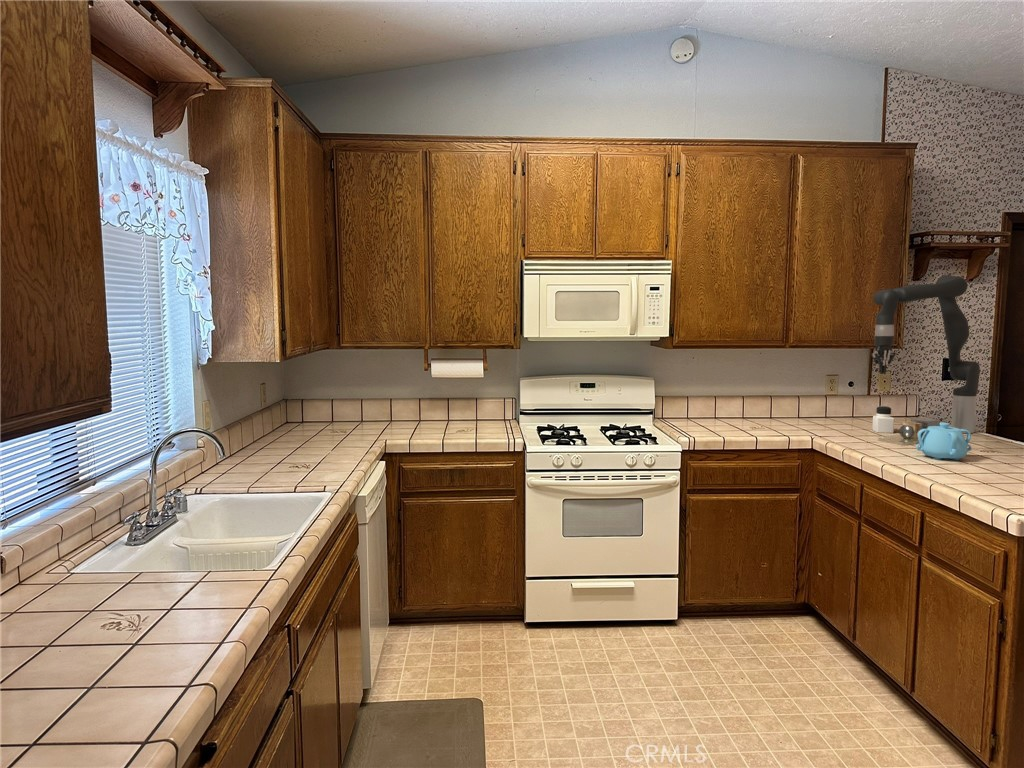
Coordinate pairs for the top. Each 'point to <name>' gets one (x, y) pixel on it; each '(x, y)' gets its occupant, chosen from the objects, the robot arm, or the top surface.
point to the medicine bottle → (883, 420)
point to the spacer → (914, 428)
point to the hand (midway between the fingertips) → (882, 373)
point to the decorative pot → (944, 442)
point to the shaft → (906, 431)
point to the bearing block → (908, 441)
